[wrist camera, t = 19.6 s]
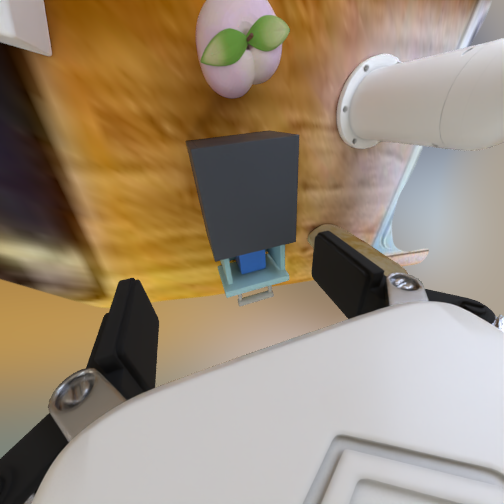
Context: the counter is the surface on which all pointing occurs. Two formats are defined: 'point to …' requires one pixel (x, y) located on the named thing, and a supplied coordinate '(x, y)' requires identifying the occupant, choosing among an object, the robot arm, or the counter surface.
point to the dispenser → (247, 190)
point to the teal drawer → (254, 276)
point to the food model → (359, 248)
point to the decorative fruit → (238, 44)
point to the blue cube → (251, 261)
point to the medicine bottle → (25, 25)
